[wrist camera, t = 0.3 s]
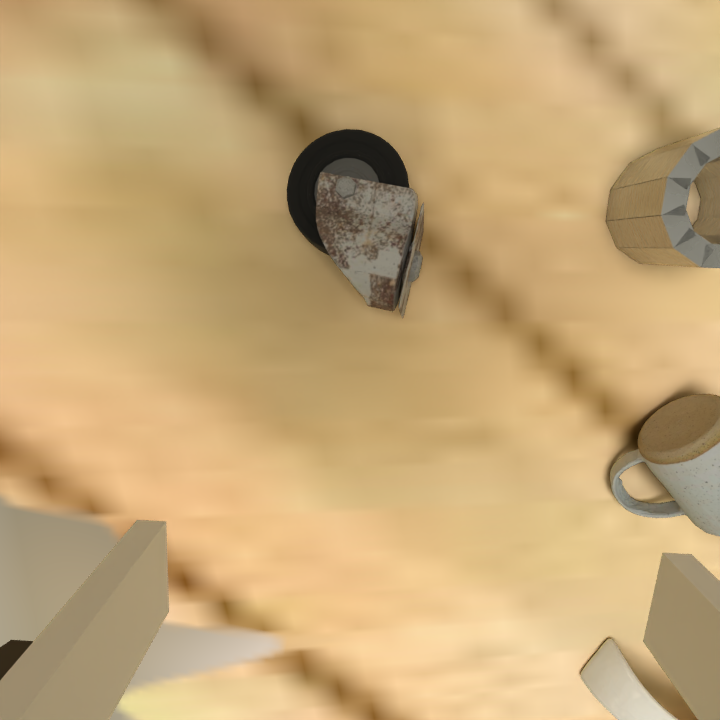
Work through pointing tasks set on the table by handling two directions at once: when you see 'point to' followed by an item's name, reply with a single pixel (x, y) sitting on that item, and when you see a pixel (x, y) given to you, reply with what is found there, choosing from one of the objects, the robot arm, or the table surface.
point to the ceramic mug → (679, 461)
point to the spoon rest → (620, 686)
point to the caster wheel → (360, 213)
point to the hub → (669, 205)
